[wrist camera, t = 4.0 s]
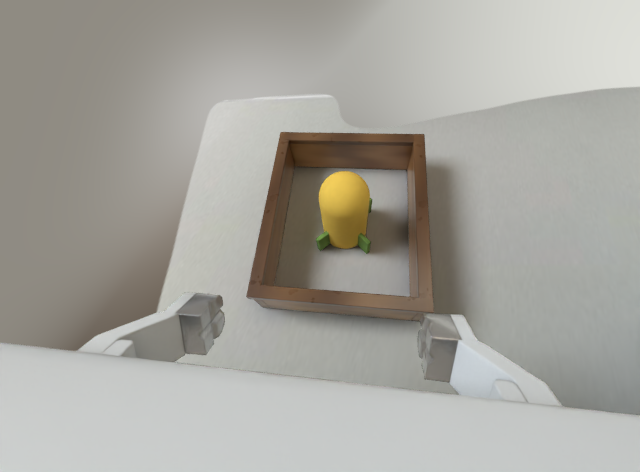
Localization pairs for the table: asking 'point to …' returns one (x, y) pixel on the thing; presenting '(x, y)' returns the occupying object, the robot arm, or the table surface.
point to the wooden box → (346, 154)
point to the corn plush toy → (344, 211)
